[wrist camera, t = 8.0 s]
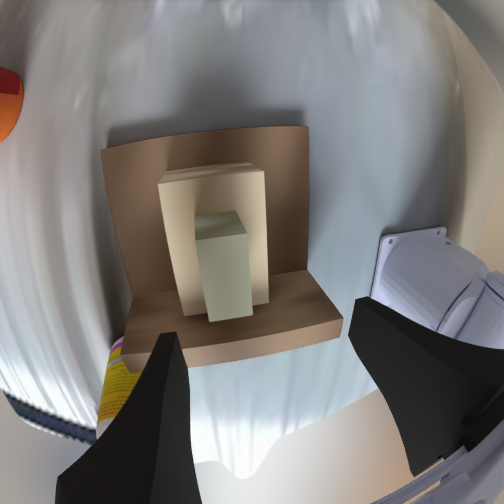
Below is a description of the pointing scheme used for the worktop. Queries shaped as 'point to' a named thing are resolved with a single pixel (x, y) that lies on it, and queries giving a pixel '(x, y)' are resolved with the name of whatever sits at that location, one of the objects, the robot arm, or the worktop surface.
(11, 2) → the worktop surface
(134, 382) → the supplement bottle
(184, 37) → the worktop surface
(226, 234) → the saddle block
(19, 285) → the worktop surface
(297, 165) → the cleat board
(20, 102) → the coffee cup
